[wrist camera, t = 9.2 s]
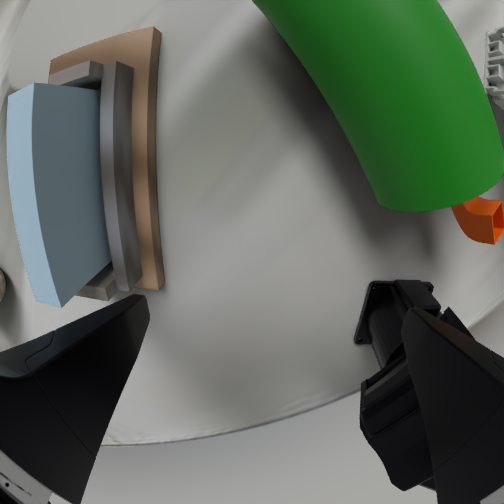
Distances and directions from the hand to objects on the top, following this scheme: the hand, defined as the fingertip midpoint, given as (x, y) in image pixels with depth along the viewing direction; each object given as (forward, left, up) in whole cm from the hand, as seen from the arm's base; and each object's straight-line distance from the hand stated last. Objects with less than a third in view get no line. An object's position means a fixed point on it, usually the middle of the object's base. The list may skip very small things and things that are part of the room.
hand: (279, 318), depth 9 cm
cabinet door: (+3, +13, -10) cm, 17 cm away
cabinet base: (+4, +14, -12) cm, 19 cm away
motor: (+18, -2, -7) cm, 20 cm away
